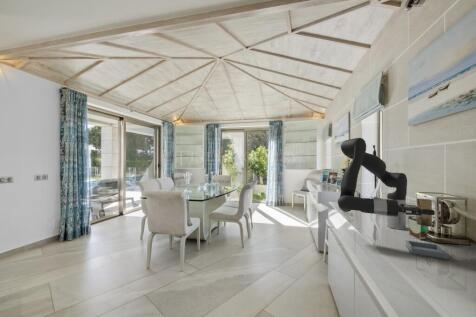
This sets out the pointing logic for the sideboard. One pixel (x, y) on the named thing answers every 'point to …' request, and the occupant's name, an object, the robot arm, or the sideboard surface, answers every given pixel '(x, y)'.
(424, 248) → the tray
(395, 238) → the sideboard surface
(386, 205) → the robot arm
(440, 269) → the sideboard surface
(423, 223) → the bronze can
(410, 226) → the food container
